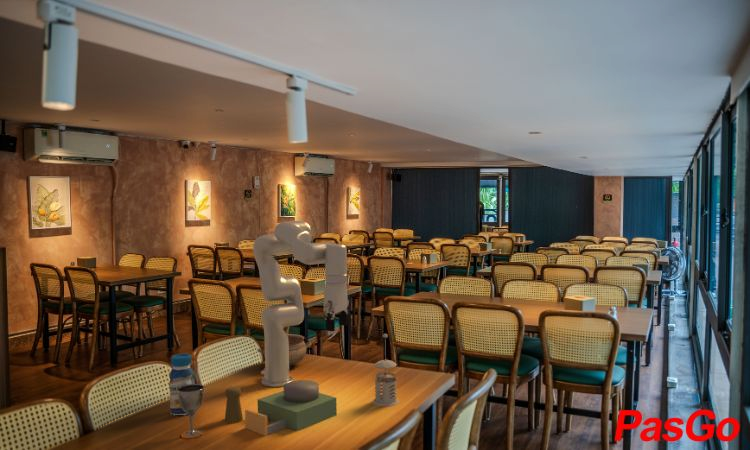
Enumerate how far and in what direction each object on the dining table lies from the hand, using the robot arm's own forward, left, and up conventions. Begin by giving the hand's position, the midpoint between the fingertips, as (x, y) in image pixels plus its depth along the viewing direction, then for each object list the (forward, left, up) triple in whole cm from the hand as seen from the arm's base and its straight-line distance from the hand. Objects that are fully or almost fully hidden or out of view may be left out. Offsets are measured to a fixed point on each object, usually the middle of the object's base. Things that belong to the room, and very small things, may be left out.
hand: (336, 328), depth 209 cm
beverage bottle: (-40, -36, -29) cm, 62 cm away
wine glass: (-20, -45, -29) cm, 58 cm away
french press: (+9, +16, -29) cm, 34 cm away
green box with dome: (-6, -18, -29) cm, 35 cm away
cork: (-20, -29, -29) cm, 46 cm away
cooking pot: (-56, +25, -29) cm, 68 cm away
